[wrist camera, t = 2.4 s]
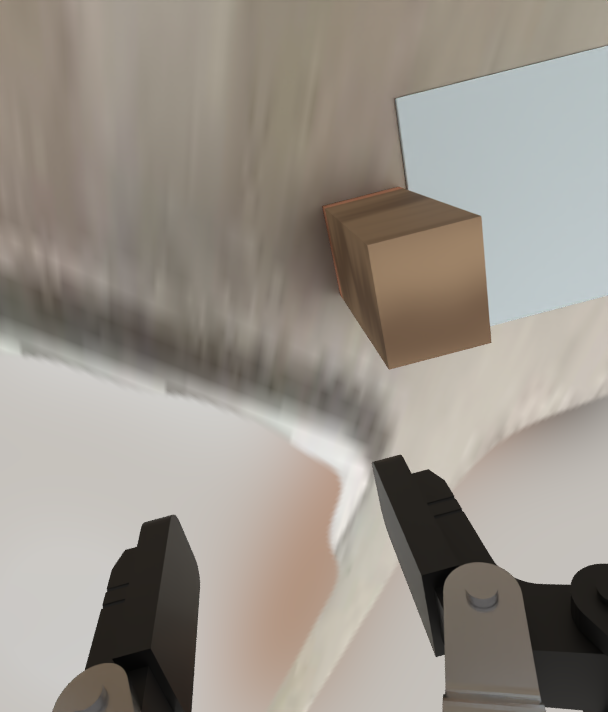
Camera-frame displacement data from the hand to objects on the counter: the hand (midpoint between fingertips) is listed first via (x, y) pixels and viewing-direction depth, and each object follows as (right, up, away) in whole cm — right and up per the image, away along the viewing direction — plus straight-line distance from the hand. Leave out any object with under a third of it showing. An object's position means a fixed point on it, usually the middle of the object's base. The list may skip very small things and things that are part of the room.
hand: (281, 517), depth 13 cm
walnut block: (+5, +11, +22) cm, 25 cm away
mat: (+14, +14, +22) cm, 29 cm away
